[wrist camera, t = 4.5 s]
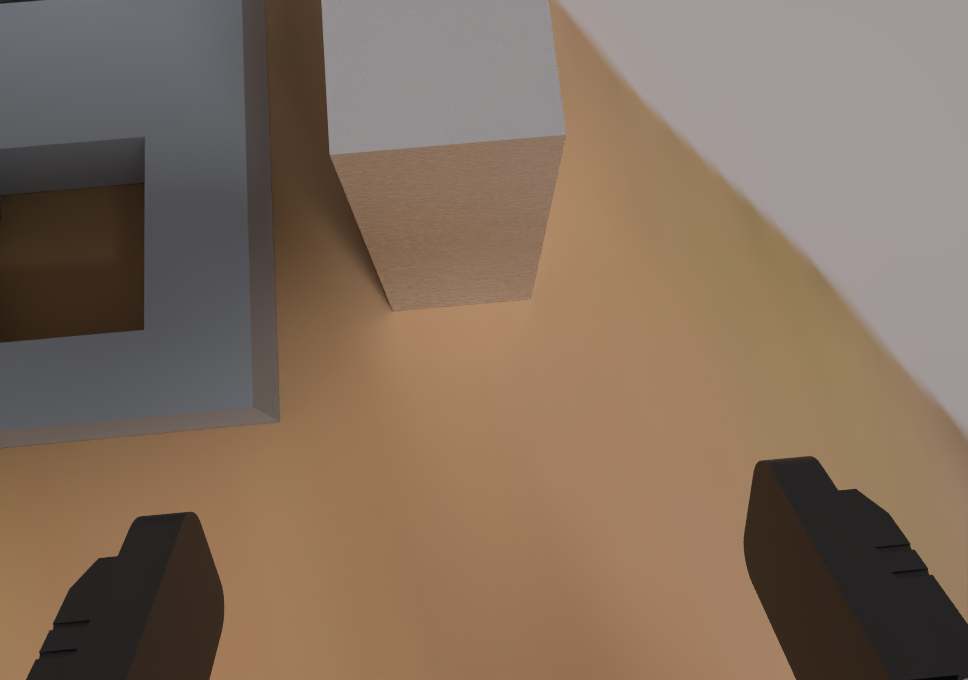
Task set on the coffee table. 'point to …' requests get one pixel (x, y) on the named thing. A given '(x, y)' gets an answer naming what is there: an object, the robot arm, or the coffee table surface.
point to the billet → (446, 141)
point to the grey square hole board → (148, 210)
